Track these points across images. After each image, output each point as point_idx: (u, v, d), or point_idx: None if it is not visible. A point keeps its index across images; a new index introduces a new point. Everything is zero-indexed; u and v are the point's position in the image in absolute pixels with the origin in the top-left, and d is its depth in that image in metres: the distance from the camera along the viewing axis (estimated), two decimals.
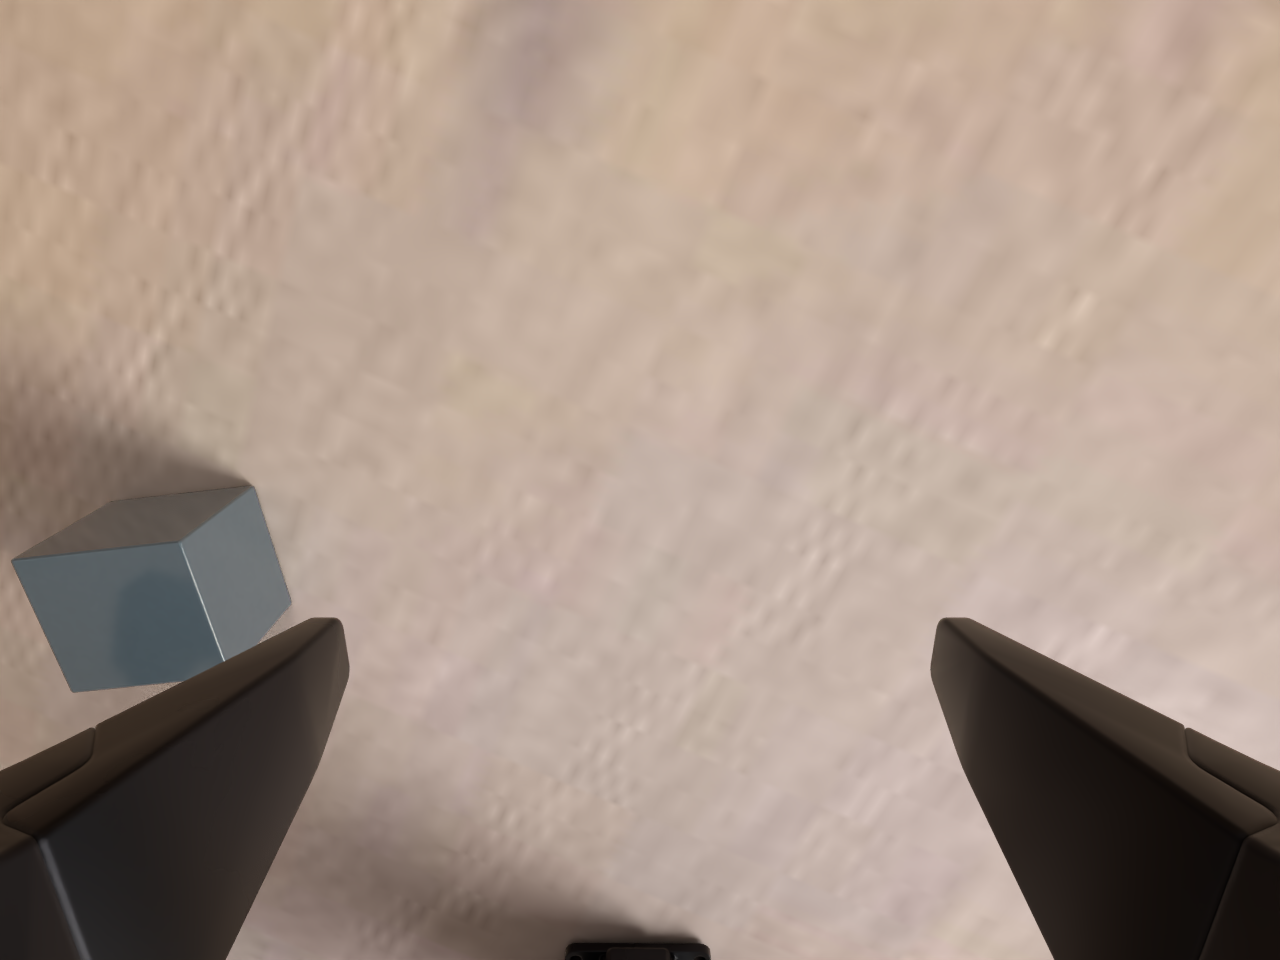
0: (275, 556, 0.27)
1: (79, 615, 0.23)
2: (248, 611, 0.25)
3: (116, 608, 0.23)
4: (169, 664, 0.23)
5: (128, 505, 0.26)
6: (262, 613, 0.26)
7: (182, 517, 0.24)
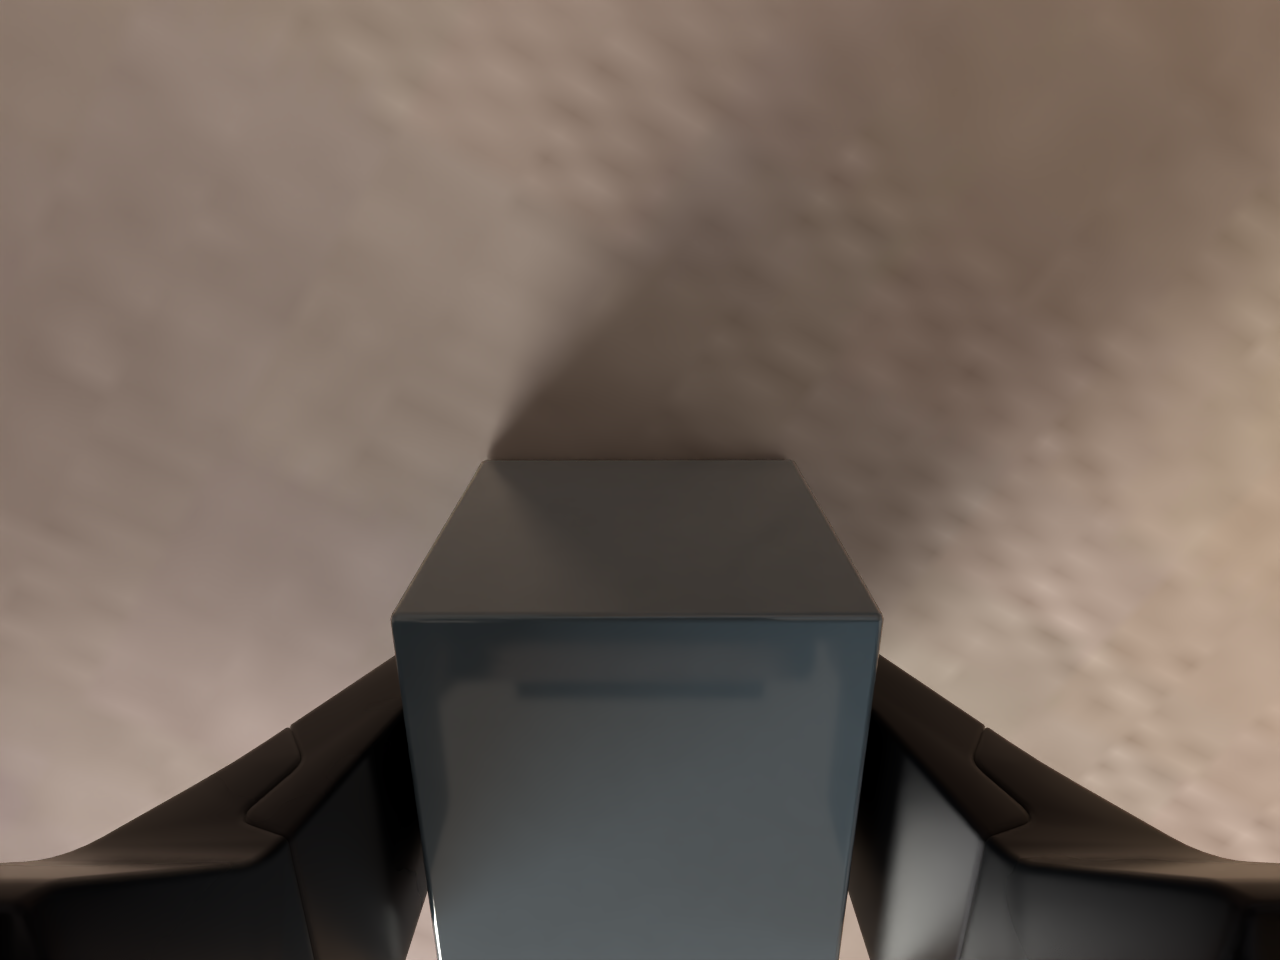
0: None
1: (670, 733, 0.08)
2: None
3: (676, 823, 0.08)
4: (487, 887, 0.08)
5: None
6: None
7: None
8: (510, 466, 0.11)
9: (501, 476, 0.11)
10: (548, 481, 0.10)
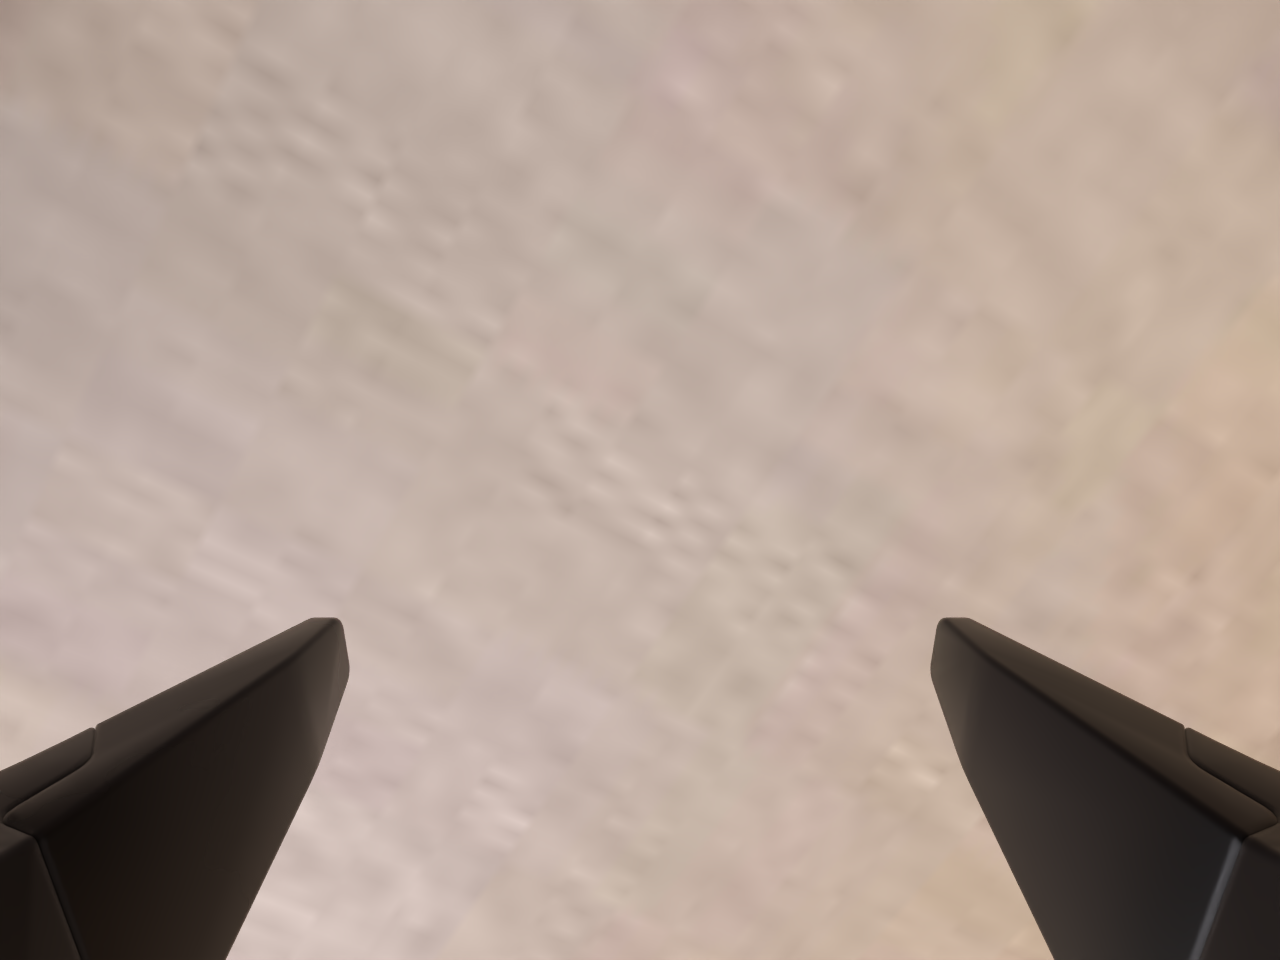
0: None
1: None
2: None
3: None
4: None
5: None
6: None
7: None
8: None
9: None
10: None
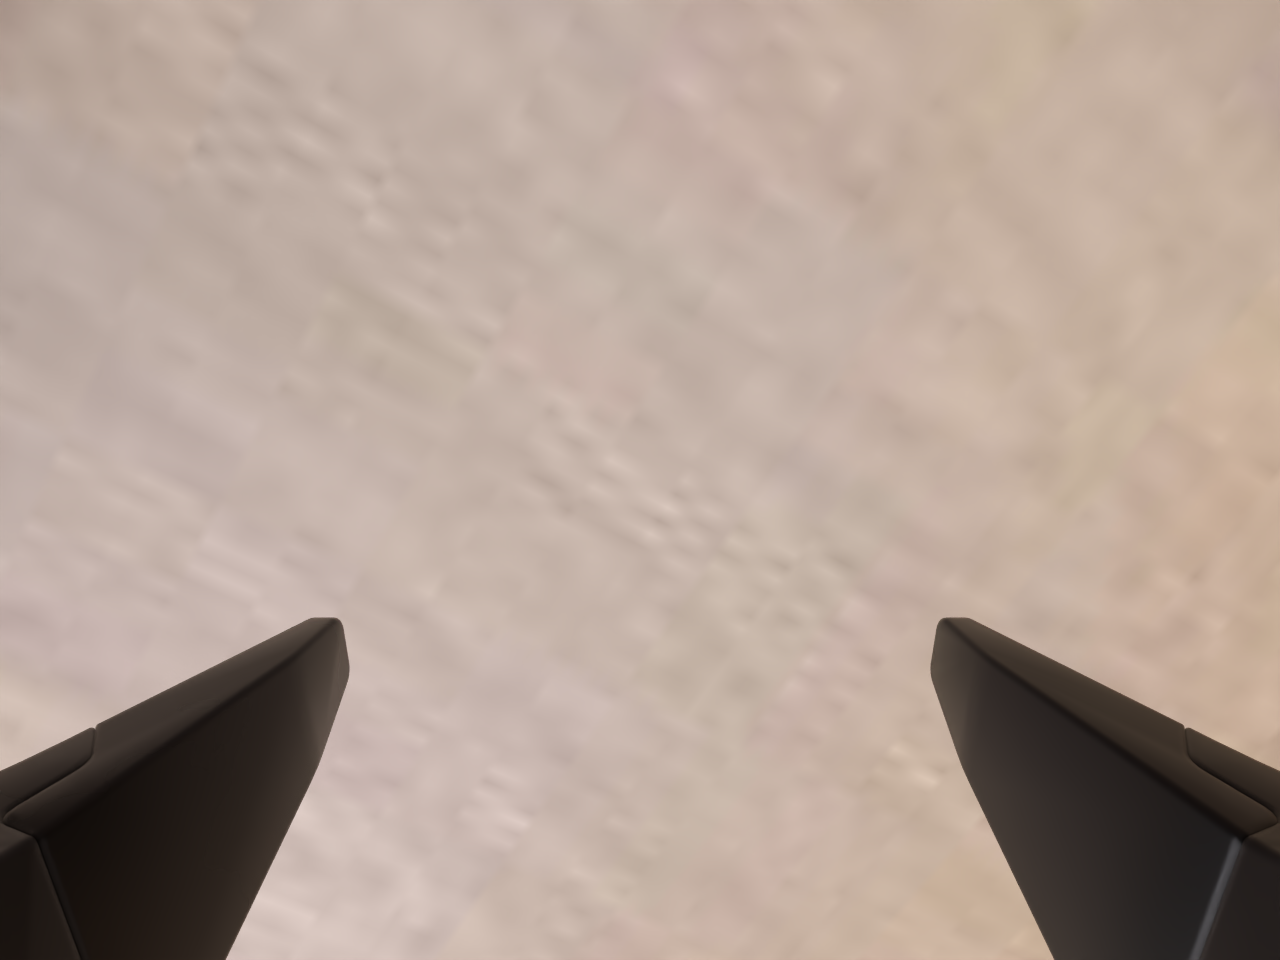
0: None
1: None
2: None
3: None
4: None
5: None
6: None
7: None
8: None
9: None
10: None
